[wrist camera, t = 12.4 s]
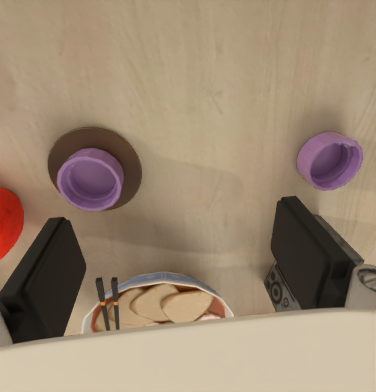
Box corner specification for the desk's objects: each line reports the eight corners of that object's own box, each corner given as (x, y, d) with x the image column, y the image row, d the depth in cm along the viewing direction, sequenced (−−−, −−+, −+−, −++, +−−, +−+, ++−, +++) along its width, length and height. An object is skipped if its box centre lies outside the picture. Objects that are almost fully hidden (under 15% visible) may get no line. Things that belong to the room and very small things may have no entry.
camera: (280, 288, 46) (308, 343, 37) (260, 287, 45) (284, 342, 37) (320, 214, 38) (367, 262, 30) (297, 211, 38) (338, 259, 29)
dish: (299, 133, 31) (313, 141, 29) (351, 128, 32) (370, 135, 29) (291, 181, 35) (303, 193, 32) (339, 177, 35) (354, 187, 32)
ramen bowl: (214, 335, 51) (222, 380, 44) (97, 339, 48) (87, 388, 41) (237, 238, 39) (254, 280, 32) (83, 236, 36) (65, 281, 29)
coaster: (35, 131, 28) (33, 132, 28) (133, 122, 29) (133, 124, 28) (65, 212, 34) (64, 215, 33) (147, 203, 34) (147, 206, 34)
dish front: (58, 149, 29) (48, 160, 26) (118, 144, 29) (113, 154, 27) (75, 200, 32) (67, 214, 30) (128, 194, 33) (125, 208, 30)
